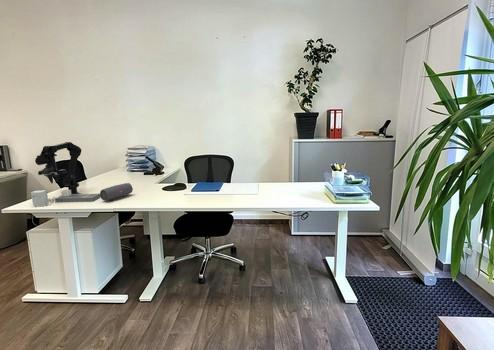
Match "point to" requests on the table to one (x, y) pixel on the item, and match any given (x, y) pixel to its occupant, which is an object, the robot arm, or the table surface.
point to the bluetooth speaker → (116, 191)
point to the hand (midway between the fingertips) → (54, 183)
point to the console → (78, 198)
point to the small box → (40, 198)
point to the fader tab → (66, 193)
